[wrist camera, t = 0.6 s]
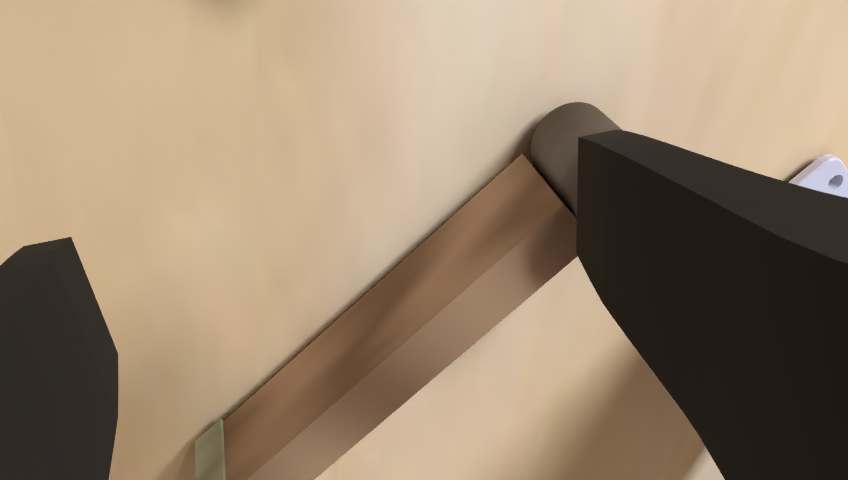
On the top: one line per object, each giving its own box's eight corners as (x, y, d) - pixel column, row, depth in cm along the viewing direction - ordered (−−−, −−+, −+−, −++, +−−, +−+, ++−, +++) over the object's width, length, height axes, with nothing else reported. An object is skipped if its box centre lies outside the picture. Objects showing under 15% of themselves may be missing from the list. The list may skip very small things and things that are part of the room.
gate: (578, 84, 22) (663, 156, 18) (622, 138, 23) (710, 217, 19) (187, 437, 25) (186, 565, 21) (245, 467, 26) (254, 594, 22)
